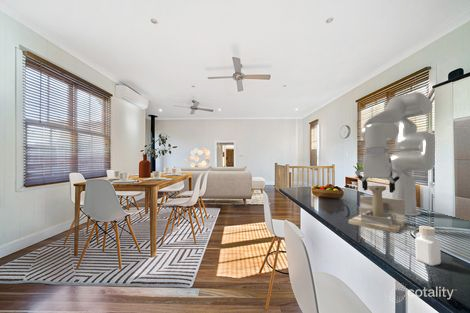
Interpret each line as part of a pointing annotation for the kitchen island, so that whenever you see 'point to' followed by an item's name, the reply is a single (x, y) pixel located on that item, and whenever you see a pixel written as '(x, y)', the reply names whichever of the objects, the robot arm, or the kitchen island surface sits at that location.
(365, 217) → the hinge stand
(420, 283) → the kitchen island surface
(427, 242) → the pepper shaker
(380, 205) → the handle
